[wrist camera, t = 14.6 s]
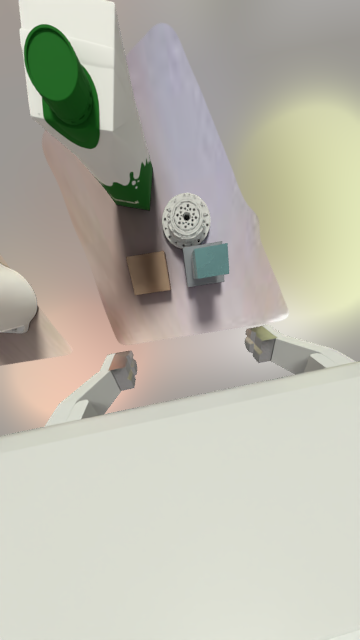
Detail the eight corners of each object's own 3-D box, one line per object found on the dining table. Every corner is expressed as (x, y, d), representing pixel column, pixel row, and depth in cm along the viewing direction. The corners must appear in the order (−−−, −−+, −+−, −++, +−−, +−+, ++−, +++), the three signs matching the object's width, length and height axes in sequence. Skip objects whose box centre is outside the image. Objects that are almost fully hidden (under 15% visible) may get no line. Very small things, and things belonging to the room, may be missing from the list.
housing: (193, 278, 32) (197, 278, 23) (190, 256, 30) (194, 248, 22) (216, 274, 31) (229, 273, 23) (214, 252, 30) (227, 243, 22)
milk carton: (112, 209, 31) (-4, 96, 11) (112, 154, 28) (-36, -112, 9) (153, 216, 31) (109, 118, 12) (158, 162, 28) (110, -77, 9)
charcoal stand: (187, 286, 35) (187, 287, 32) (182, 250, 33) (182, 247, 30) (220, 281, 35) (224, 281, 32) (218, 244, 32) (222, 241, 29)
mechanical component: (161, 246, 33) (204, 252, 33) (158, 242, 29) (208, 248, 29) (165, 193, 30) (212, 200, 30) (162, 179, 26) (218, 187, 26)
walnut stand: (138, 293, 36) (135, 295, 33) (130, 258, 33) (125, 257, 30) (171, 288, 35) (170, 289, 32) (165, 253, 33) (163, 250, 30)
